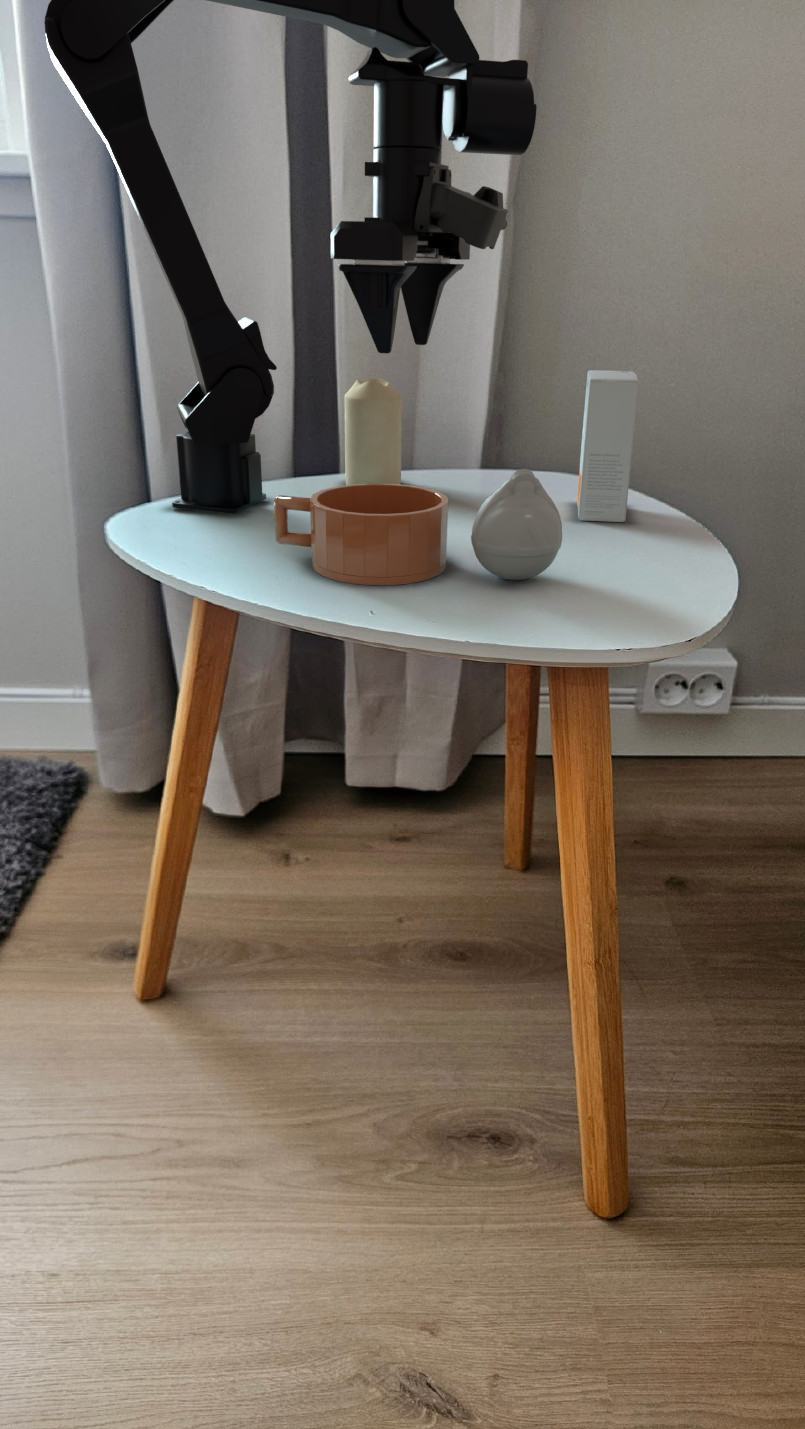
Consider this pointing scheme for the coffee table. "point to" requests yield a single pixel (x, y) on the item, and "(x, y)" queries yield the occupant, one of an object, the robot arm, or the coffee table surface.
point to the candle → (373, 433)
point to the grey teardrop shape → (517, 529)
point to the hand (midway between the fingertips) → (403, 348)
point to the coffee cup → (371, 532)
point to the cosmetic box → (607, 445)
